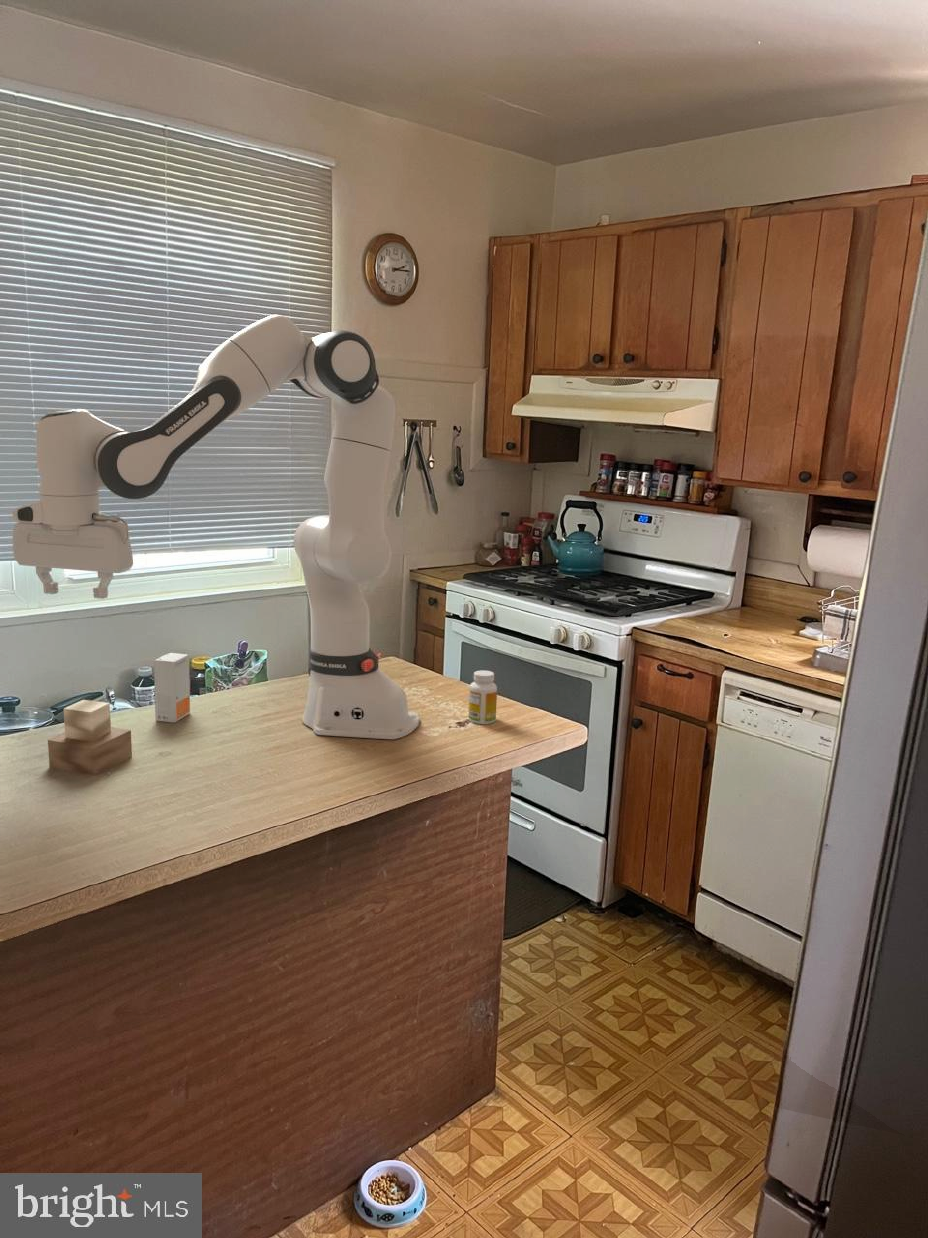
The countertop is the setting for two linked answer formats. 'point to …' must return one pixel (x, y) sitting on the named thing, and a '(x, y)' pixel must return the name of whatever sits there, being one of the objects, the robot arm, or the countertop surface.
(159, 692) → the skincare box
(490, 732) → the countertop surface
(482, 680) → the supplement bottle
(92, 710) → the birch cube
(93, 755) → the walnut block
